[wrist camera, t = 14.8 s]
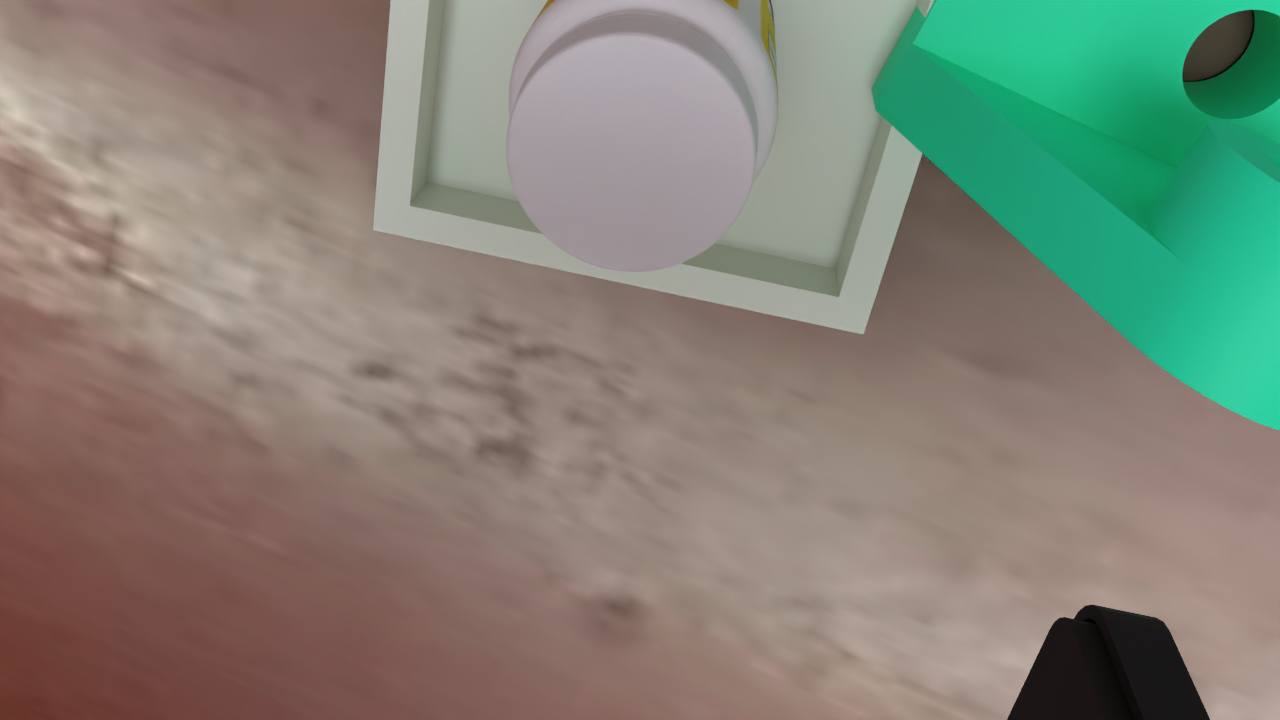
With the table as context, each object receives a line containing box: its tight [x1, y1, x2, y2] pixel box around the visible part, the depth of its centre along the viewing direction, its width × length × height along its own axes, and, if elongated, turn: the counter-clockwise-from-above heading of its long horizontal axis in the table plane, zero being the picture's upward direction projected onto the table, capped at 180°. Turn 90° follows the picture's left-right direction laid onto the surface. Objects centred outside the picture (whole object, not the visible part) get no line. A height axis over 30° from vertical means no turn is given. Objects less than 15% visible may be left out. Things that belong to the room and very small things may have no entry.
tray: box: [373, 0, 935, 334], centre depth 26 cm, size 12×12×2 cm
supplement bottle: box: [506, 0, 778, 272], centre depth 22 cm, size 5×5×8 cm
